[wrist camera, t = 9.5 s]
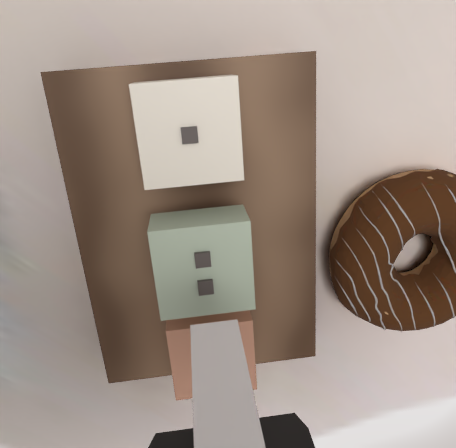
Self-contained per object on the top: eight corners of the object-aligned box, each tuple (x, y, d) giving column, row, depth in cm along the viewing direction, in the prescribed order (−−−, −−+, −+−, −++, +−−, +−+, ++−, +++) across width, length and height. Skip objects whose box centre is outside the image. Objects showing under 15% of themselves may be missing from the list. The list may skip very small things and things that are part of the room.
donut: (495, 165, 26) (547, 181, 23) (452, 310, 30) (491, 345, 26) (333, 157, 25) (359, 173, 21) (308, 310, 29) (328, 346, 25)
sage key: (162, 294, 22) (160, 323, 19) (150, 214, 20) (146, 233, 18) (248, 284, 22) (256, 311, 20) (242, 204, 20) (251, 222, 18)
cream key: (148, 177, 21) (144, 191, 18) (134, 82, 19) (128, 84, 17) (237, 168, 21) (244, 181, 19) (231, 74, 20) (238, 75, 17)
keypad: (114, 357, 28) (103, 405, 24) (55, 71, 22) (27, 72, 18) (304, 332, 29) (324, 375, 25) (301, 52, 22) (328, 49, 18)
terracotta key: (176, 370, 25) (176, 403, 23) (167, 306, 24) (165, 333, 21) (250, 361, 25) (257, 391, 23) (246, 297, 24) (253, 322, 21)
